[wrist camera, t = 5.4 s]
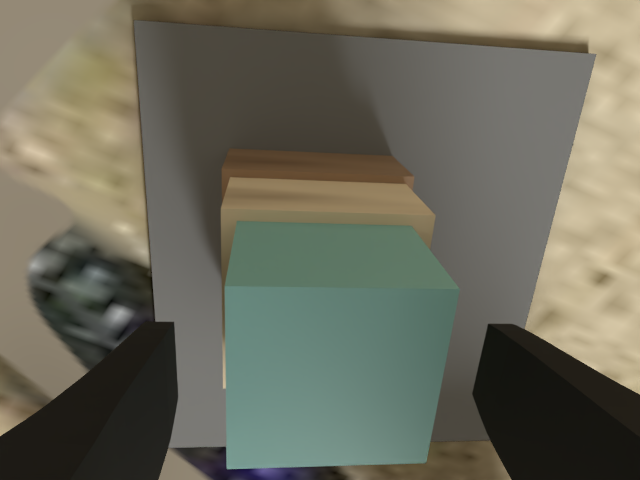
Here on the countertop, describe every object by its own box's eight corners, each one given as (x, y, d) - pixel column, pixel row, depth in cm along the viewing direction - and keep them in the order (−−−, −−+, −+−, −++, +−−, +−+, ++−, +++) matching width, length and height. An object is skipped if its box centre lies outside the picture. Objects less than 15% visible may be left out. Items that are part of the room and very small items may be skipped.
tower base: (375, 297, 20) (391, 337, 17) (230, 295, 20) (223, 337, 17) (392, 155, 18) (414, 176, 15) (229, 148, 17) (221, 168, 15)
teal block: (390, 368, 14) (426, 462, 11) (237, 368, 14) (227, 468, 11) (411, 225, 13) (460, 288, 9) (236, 220, 12) (224, 286, 9)
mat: (491, 434, 24) (495, 440, 24) (166, 441, 23) (164, 447, 22) (589, 53, 18) (596, 53, 17) (137, 20, 16) (133, 19, 15)
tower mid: (385, 331, 17) (407, 386, 15) (230, 331, 17) (223, 388, 14) (405, 183, 15) (435, 215, 13) (230, 177, 15) (220, 208, 12)
